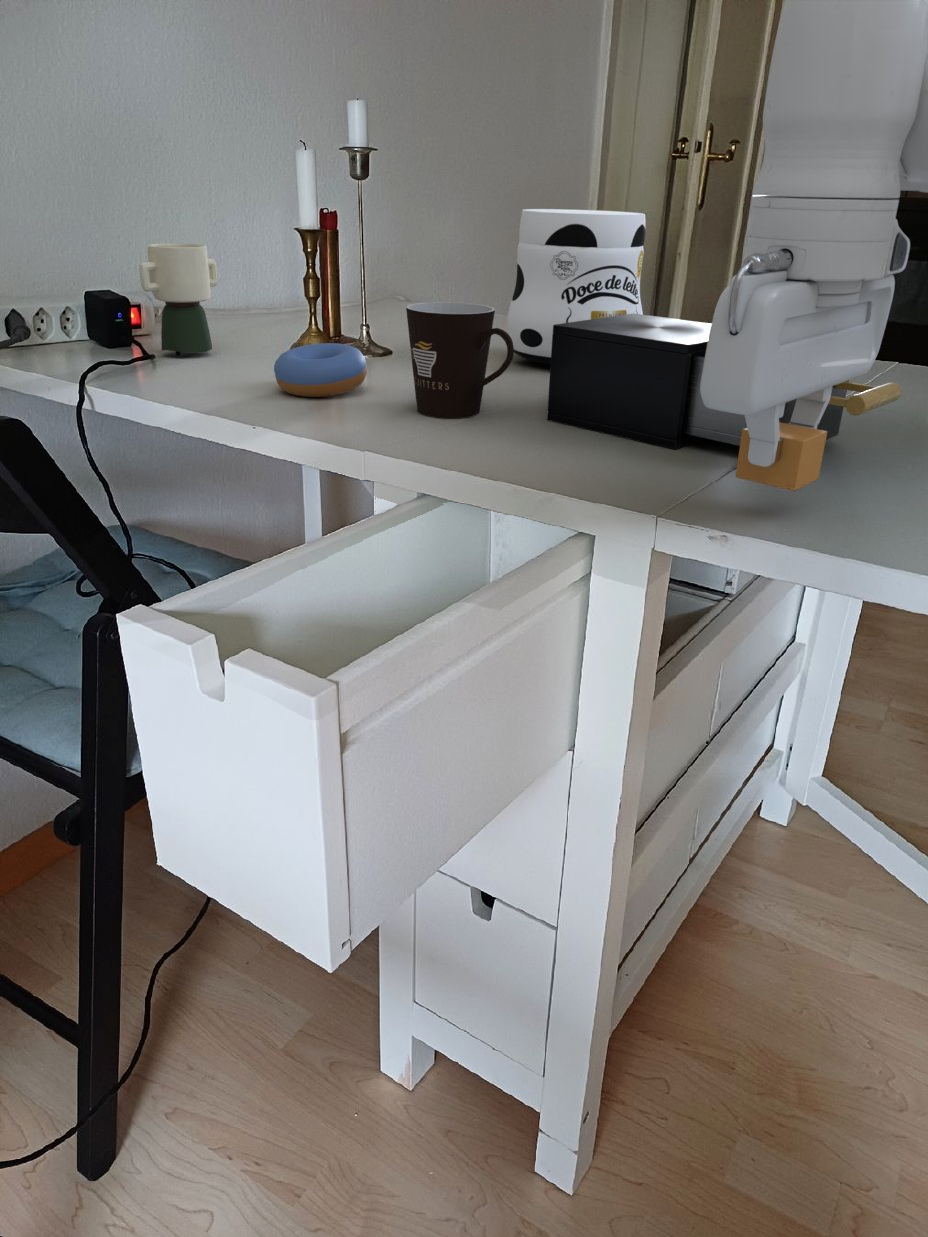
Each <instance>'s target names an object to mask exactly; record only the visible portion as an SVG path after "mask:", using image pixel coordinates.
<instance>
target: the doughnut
mask: <svg viewBox="0 0 928 1237" xmlns="http://www.w3.org/2000/svg"><path fill="white" fill-rule="evenodd" d="M367 364H368V362H367V360H366V358H365V355H364V354H363V353H362V351H361V350H359V349H358V348H356V347H354V346H352V345H349V344H345V343H334V342H333V343H332V342H327V343H326V342H325V343H312V344H306V345H301V346H297V347H293V348H291V349H288V350H286V351H284V352H283V353H281V354H280V355H279V357H278V358H277V359H276V360H275V362H274V365H273V372H274V378H275V381H276V382H277V385H278V386H279V388H280V389H282V390H283V391H284V392H286V393H288V394H290V395H293V396H297V397H303V398H304V397H305V398H324V397H330V396H332V397H333V396H337V395H341V394H345V393H348V392H351V391H353V390H355V389H356V388H359V386H361V385H362V384H363V383H364V381H365V379H366V377H367V374H368V366H367Z"/></svg>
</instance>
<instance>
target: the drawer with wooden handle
mask: <svg viewBox="0 0 928 1237" xmlns="http://www.w3.org/2000/svg"><path fill="white" fill-rule="evenodd" d="M691 354H692V356H691V363H690V371H689V379H688V387H687V394H686V402H685V410H684V418H683V425H682V433H683V434H688V435H692V436H697V437H702V438H706V439H705V440H711V441H716V442H720V443H725V444H728V445H729V444H730V445H733V446H738V447H740V443H741V436H742V430H743V429H746V428H747V424H746V420H745V415H741V414H735V413H729V412H724V411H719V410H714V409H710V408H707V407H706V406H705V405H704V403H703V400H702V397H701V393H700V383H701V376H702V370H703V365H704V359H705V354H706V350H705V351H700V352H696V353H691ZM848 391H852V392H856V394H854V395H851V396H849V397H848V398H847V392H848ZM902 392H903V391H902V388H901V386H900V384H899V383H897V382H888V383H885V384H882V385H879V386H878V385H877V386H876V385H871V384H865V383H859V382H852V381H850V380H848V381H846V382H843V383H840V384H837V385H834V386H832V392H831V397H830V401H829V403H828V405H827V407H826V409H825V411H824V413H823V416H822V418H821V420H820V422H819V424H818V425H817V429H818V430H824V431H827V436H826V441H827V440H829V439H832V438H835V437H837V436H838V435H839V433H840V427H841V424H842V423H841V422H842V417H843V412H844V408H845V410H846V412H847V413H848V414H849V415H851V416H854V417H855V416H860V415H862V414H866V413H868V412H870V411H873V410H875V409H878V408H880V407H883V406H885V405H888V404H891V403H893V402H896V401H898V400H899V399H900V398H901V396H902ZM796 401H797V399H794V400H791V401H789V402H786V403H785V408H784V414H783V417H781V418H779V422H781V423H786V424H788V423H790V420H791V417H792V414H793V411H794V407H795V404H796Z"/></svg>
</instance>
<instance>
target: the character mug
mask: <svg viewBox="0 0 928 1237" xmlns="http://www.w3.org/2000/svg"><path fill="white" fill-rule="evenodd" d="M147 258H148V259H147V260H148V261H146V262H145V261H143V262H141V263H140V264H139V268H138V270H139V279H140V287H141V289H142V291H143V292H146V293H147V292H148V293H149V292H151V293H152V295H153V297H154V299H155V300H157V301H160V302H164V304H165V305H164V306H163V308H162V311H161V331H160V334H161V335H160V339H161V351H169V352H175V356H178V357H179V356H181V354H182V353H185V354H200V353H208V352H209V351H211V350H213V343H212V337H211V332H210V327H209V324H208V319H207V314H206V311H205V309H204V307H203V305H201V302H205V301H208V300H209V299H211V293H212V291H211V288H213V287H216V286H218V283H219V278H218V266H217V265H218V264H217V262H216V260H215V259H213V258H208V250H207V245H205V244H197V243H196V244H195V243H173V242H172V243H171V242H170V243H166V242H165V243H152V244H147Z"/></svg>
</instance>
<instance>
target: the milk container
mask: <svg viewBox="0 0 928 1237" xmlns="http://www.w3.org/2000/svg"><path fill="white" fill-rule="evenodd" d="M646 225H647V224H646V214H645V213H642V212H633V211H619V210H618V211H617V210H615V211H614V210H598V209H594V210H592V209H563V208H562V209H561V208H559V209H557V208H526V209H524V208H523V209H522V211H521V214H520V222H519V227H518V228H519V229H518V240H519V241H518V245H517V247H516V248H517V249H516V250H517V251H516V260H517V261H516V278H515V279H516V280H515V286H514V289H513V290H514V291H513V294H512V298H511V300H510V305H509V308H508V310H507V318H506V331H507V332H506V333H508V335H509V336H510V337H511V339H512V341H513V348H514V354H515V355H517V356H518V357H521V358H522V359H523V358H524V359H525V360H527V361H530V362H535V363H539V364H543V365H549V366H551V350H552V335H553V325H555V324H562V323H569V322H577V321H584V320H591V319H598V318H605V317H612V316H619V315H626V314H633V313H634V314H641V315H644V313H643V306H642V300H641V274H642V267H643V262H644V253H645V252H644V247H645V241H646Z"/></svg>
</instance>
